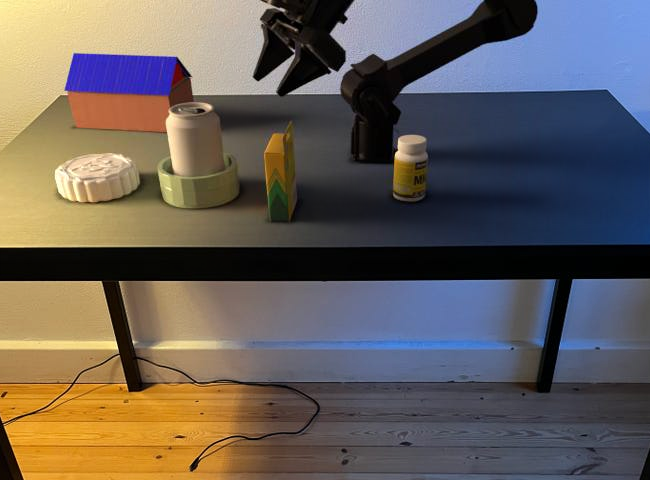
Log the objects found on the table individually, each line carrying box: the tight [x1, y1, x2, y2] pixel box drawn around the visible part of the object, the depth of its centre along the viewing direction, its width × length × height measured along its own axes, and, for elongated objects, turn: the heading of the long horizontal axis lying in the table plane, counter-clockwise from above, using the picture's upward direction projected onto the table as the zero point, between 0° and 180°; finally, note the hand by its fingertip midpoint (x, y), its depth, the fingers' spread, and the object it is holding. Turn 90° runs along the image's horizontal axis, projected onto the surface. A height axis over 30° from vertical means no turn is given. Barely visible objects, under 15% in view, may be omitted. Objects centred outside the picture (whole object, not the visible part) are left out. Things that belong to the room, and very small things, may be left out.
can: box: [166, 101, 225, 177], centre depth 98 cm, size 8×8×12 cm
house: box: [64, 52, 195, 133], centre depth 126 cm, size 12×20×12 cm, turn 79°
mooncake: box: [54, 152, 141, 203], centre depth 103 cm, size 12×12×4 cm
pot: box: [157, 151, 241, 210], centre depth 101 cm, size 11×11×4 cm
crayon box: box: [263, 120, 298, 222], centre depth 93 cm, size 7×3×12 cm, turn 174°
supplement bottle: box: [392, 134, 429, 203], centre depth 98 cm, size 5×5×8 cm
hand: (266, 86), depth 100 cm, fingers open, 9 cm apart
